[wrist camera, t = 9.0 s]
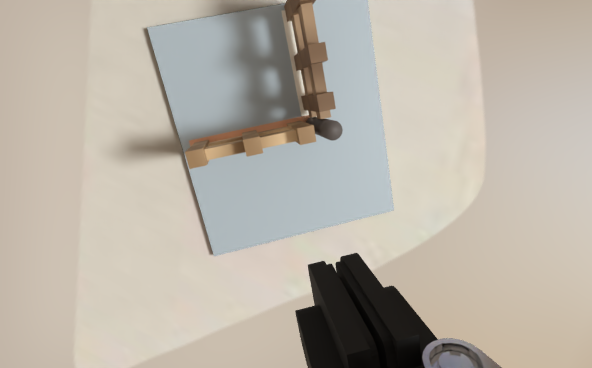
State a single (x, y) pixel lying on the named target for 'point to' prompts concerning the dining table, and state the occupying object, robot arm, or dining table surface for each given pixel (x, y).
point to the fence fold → (249, 143)
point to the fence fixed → (312, 68)
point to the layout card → (276, 121)
